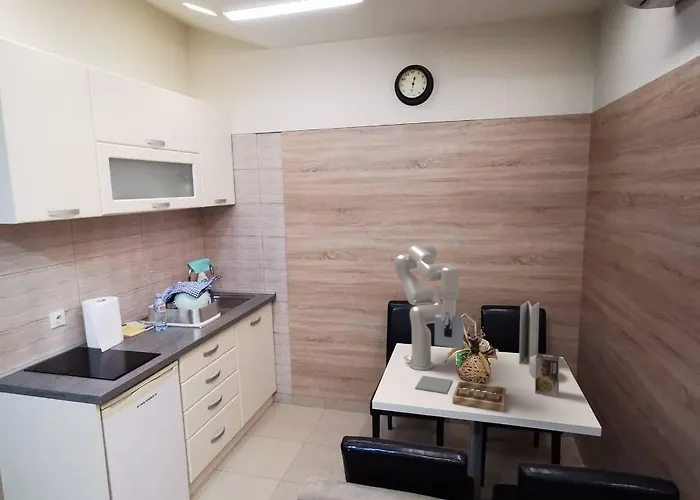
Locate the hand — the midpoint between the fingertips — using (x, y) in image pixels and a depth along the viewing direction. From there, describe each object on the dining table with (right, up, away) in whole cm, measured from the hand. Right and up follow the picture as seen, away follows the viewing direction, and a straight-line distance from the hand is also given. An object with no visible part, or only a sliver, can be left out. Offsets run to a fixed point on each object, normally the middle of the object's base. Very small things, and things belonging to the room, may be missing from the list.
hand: (448, 334), depth 187 cm
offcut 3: (+15, -26, -14) cm, 33 cm away
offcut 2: (+10, -26, -11) cm, 30 cm away
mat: (-5, -24, +6) cm, 26 cm away
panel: (0, -5, +1) cm, 5 cm away
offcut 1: (+4, -26, -9) cm, 28 cm away
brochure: (+49, -20, +32) cm, 62 cm away
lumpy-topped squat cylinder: (+47, -22, +13) cm, 54 cm away
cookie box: (+42, -25, -4) cm, 48 cm away
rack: (+11, -26, -8) cm, 29 cm away
